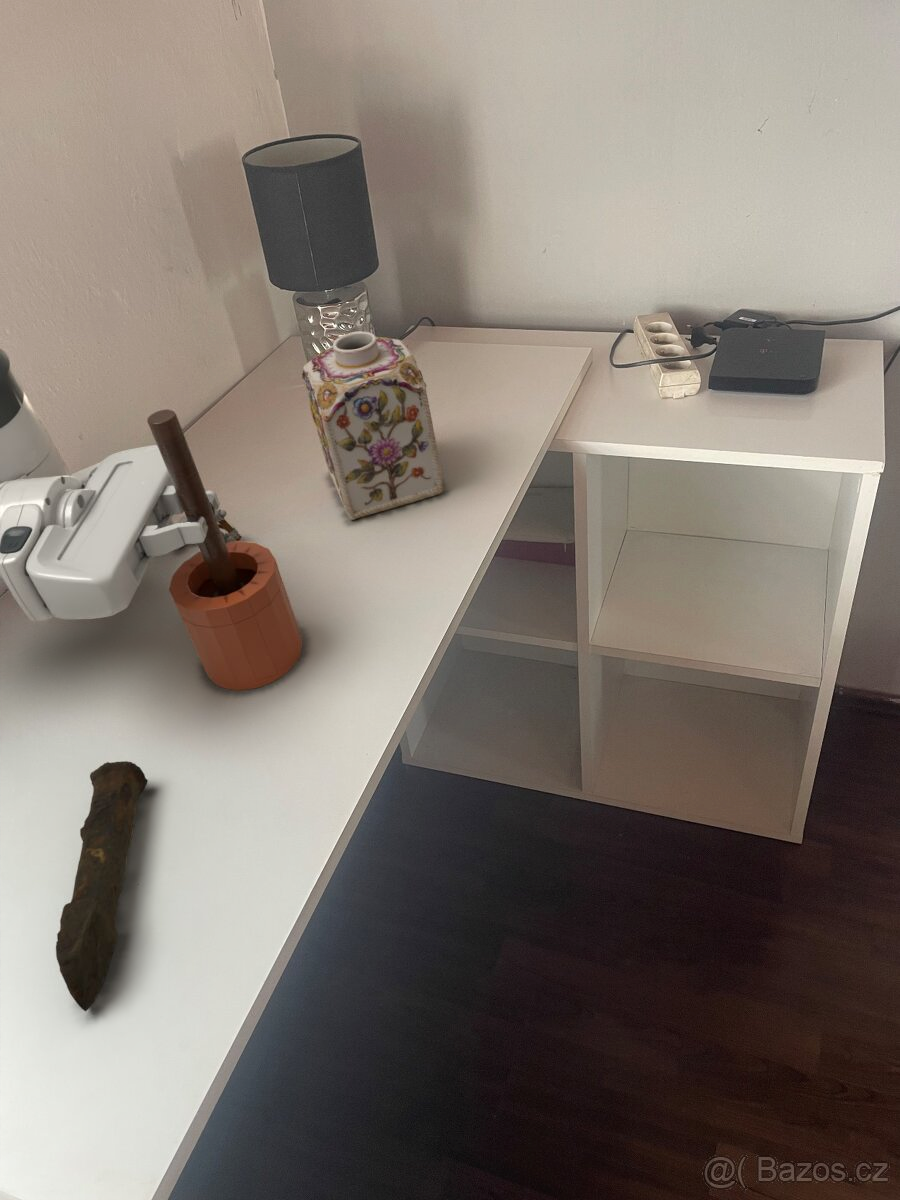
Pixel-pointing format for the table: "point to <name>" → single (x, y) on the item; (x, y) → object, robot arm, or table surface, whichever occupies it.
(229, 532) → the wooden post with brackets
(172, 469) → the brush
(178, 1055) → the table surface
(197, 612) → the terracotta plant pot
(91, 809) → the hand tool
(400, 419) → the decorative jar
